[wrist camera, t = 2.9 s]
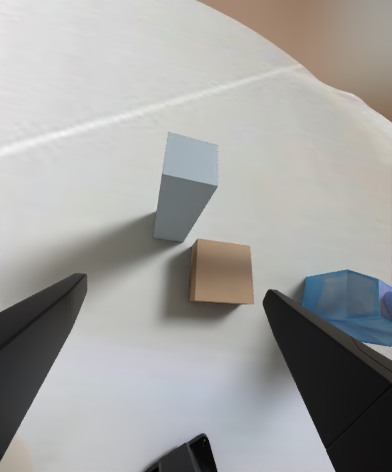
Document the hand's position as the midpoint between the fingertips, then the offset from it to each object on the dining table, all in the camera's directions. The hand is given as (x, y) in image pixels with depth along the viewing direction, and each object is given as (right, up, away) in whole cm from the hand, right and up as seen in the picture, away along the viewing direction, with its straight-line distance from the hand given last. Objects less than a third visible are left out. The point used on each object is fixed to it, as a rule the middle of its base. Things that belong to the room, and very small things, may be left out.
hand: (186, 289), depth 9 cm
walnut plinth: (+3, -3, +15) cm, 15 cm away
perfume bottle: (+19, -8, +18) cm, 27 cm away
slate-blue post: (-3, +4, +16) cm, 16 cm away
